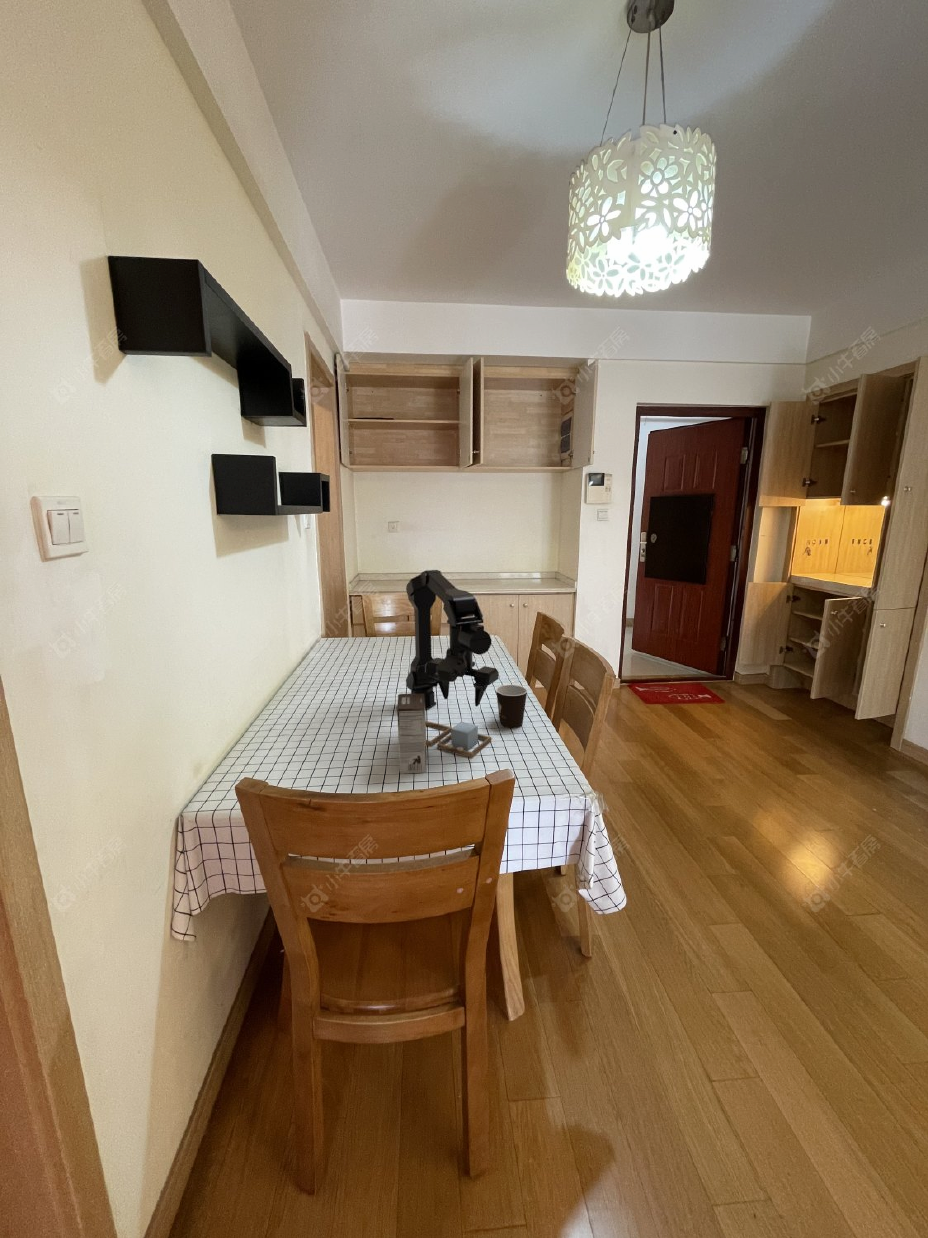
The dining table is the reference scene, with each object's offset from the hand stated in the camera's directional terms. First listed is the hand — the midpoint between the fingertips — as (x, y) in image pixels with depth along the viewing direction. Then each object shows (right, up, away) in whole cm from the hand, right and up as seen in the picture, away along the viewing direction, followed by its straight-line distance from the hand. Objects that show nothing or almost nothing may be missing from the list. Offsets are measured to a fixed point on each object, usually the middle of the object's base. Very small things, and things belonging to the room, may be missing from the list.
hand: (461, 702), depth 124 cm
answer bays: (-4, -10, +3) cm, 12 cm away
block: (+1, -11, 0) cm, 11 cm away
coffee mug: (+14, -8, +14) cm, 22 cm away
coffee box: (-11, -13, -9) cm, 20 cm away
